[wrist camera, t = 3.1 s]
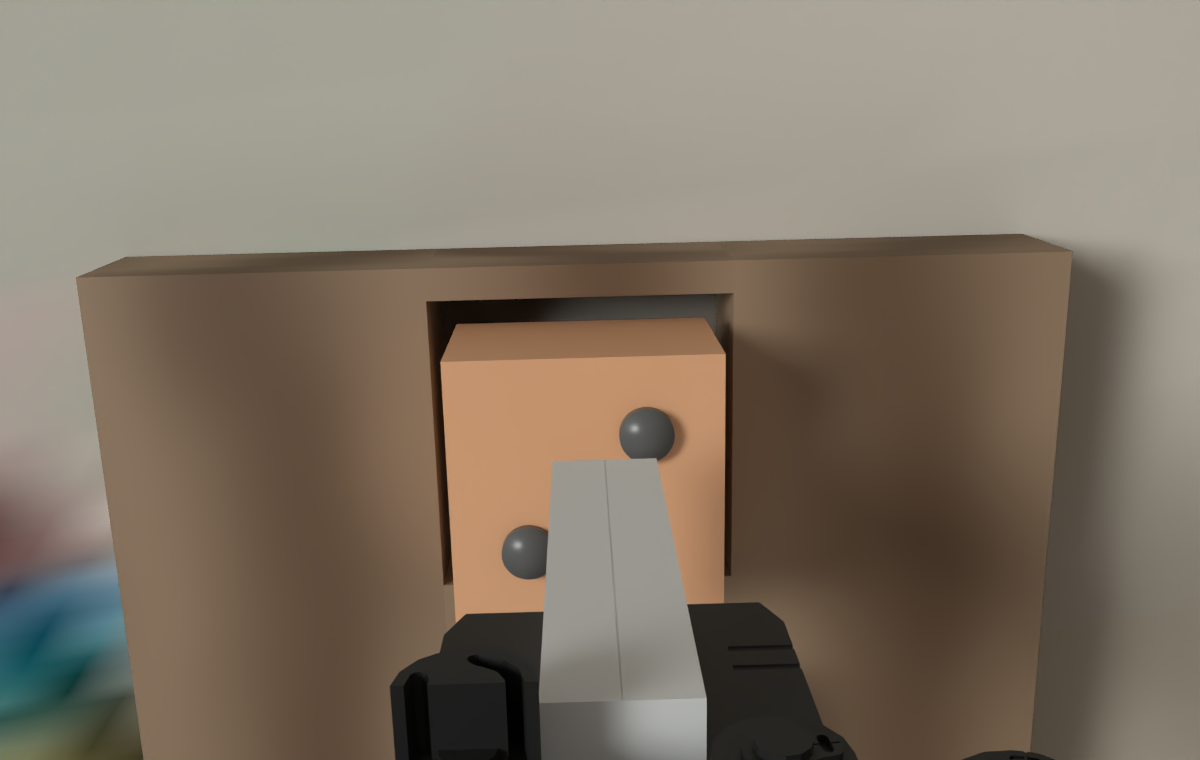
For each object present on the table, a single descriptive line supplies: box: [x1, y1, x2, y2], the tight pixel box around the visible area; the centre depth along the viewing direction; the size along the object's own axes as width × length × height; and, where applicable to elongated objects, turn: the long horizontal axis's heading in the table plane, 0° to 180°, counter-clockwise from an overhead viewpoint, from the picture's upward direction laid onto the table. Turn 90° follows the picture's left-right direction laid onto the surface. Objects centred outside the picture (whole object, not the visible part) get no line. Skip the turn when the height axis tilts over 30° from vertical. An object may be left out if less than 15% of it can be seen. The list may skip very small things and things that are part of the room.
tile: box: [440, 317, 726, 623], centre depth 20 cm, size 5×5×3 cm
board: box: [76, 234, 1073, 760], centre depth 24 cm, size 18×20×2 cm
